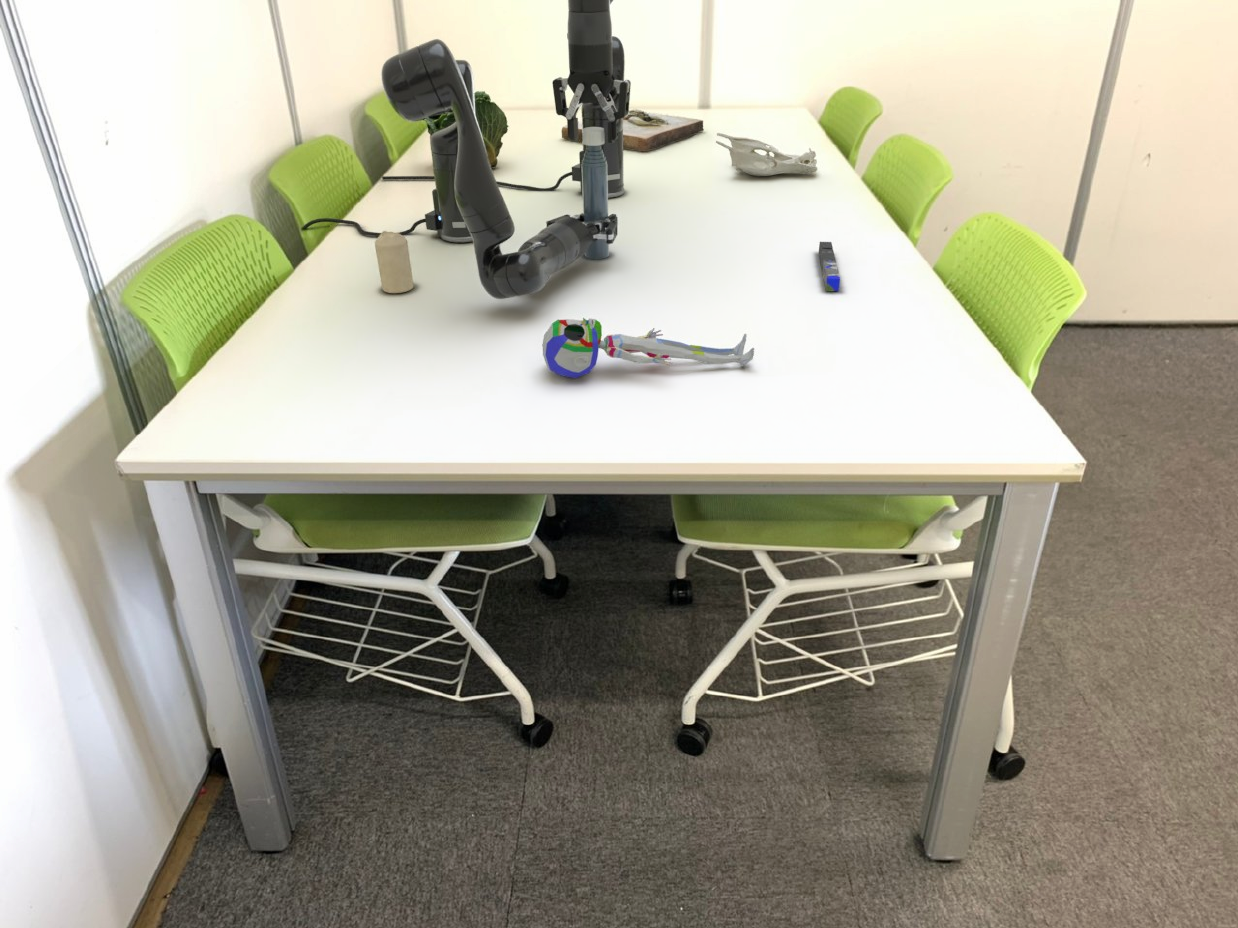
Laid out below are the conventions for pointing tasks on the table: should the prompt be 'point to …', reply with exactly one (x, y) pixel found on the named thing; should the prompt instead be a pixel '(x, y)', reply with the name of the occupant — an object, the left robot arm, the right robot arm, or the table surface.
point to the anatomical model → (766, 158)
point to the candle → (394, 262)
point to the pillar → (829, 266)
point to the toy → (622, 348)
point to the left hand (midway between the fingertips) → (601, 217)
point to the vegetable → (488, 121)
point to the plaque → (650, 130)
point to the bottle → (595, 195)
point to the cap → (593, 136)
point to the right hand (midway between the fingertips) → (593, 141)
